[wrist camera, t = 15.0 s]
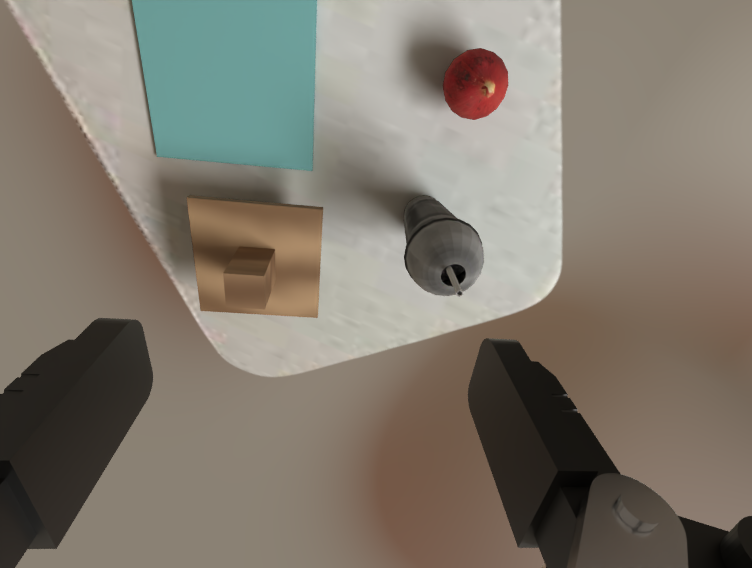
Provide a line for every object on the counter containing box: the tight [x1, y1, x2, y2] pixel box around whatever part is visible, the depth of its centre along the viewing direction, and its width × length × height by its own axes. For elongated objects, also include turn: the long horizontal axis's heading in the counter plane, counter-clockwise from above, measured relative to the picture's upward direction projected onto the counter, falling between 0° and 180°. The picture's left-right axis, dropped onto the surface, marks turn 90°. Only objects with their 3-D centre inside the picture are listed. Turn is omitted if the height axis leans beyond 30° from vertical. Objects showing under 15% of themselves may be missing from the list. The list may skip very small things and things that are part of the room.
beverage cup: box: [404, 196, 484, 297], centre depth 37 cm, size 7×7×20 cm
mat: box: [132, 0, 317, 171], centre depth 38 cm, size 16×16×1 cm
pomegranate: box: [443, 48, 508, 120], centre depth 36 cm, size 6×6×8 cm
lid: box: [187, 195, 323, 318], centre depth 39 cm, size 13×13×7 cm
